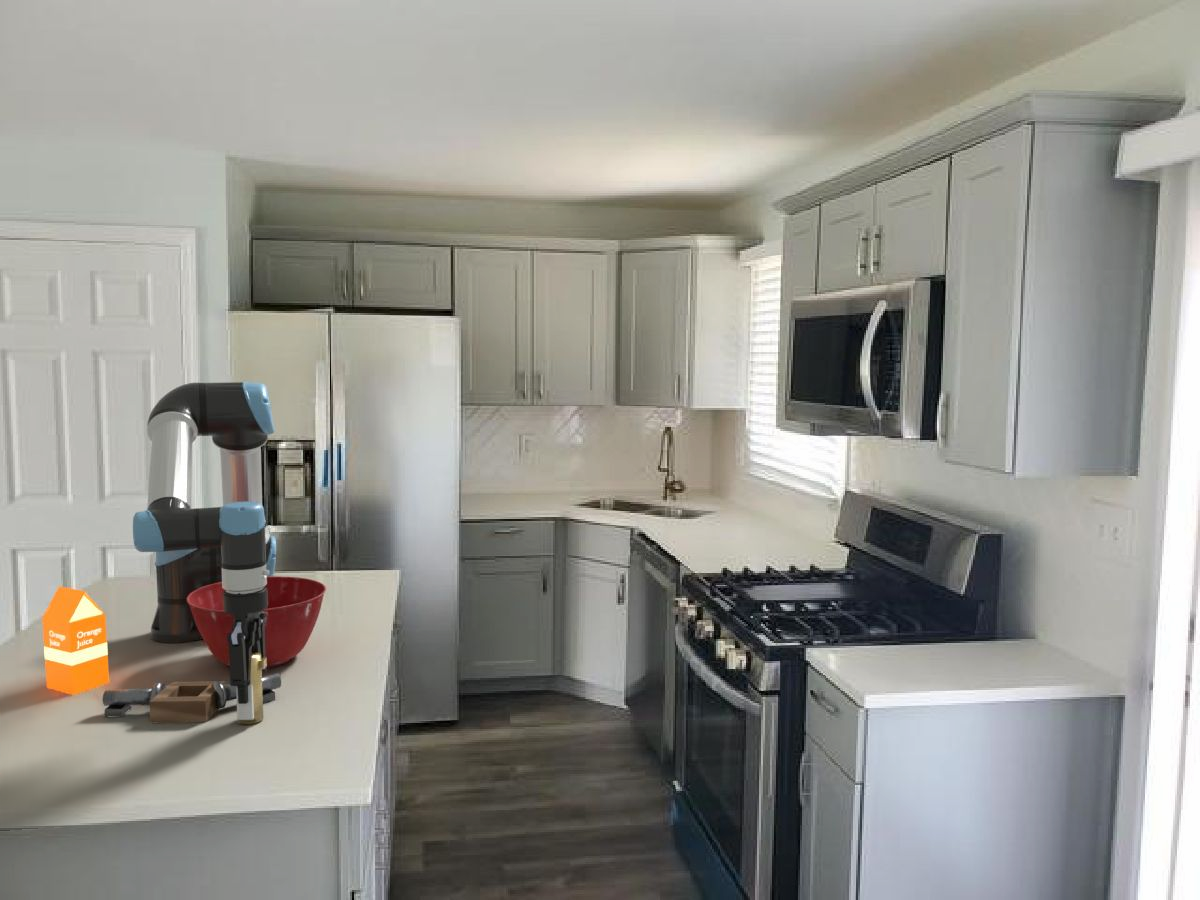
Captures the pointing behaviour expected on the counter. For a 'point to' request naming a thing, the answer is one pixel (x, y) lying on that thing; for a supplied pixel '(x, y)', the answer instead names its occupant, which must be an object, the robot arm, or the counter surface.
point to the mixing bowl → (284, 617)
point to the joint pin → (256, 686)
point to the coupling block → (184, 702)
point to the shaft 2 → (229, 691)
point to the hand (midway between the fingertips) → (250, 713)
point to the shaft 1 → (128, 699)
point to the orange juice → (74, 642)
